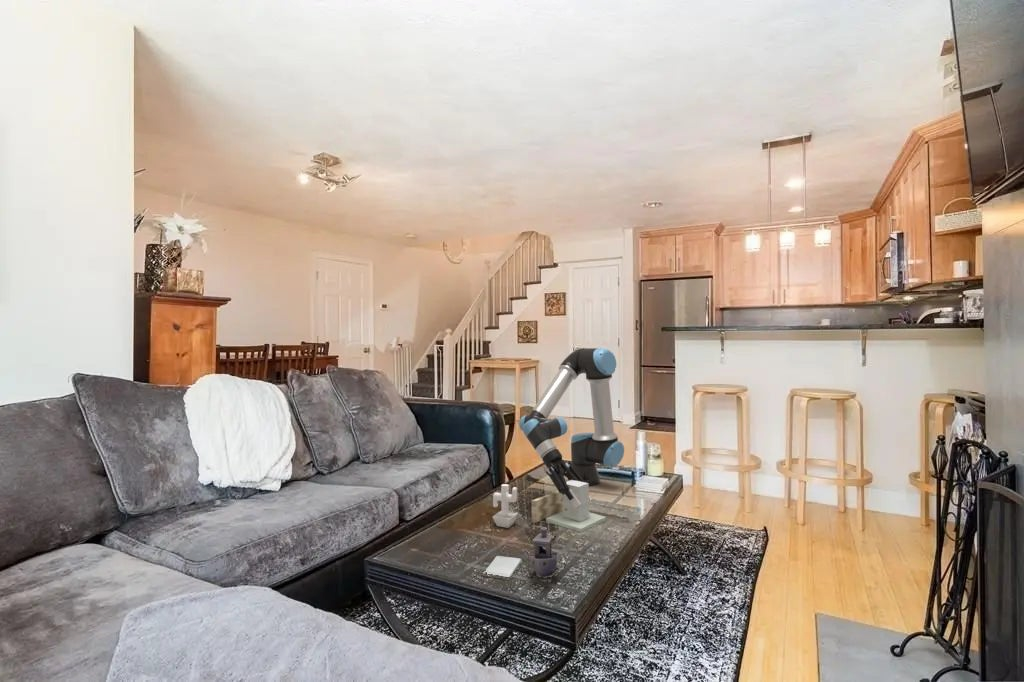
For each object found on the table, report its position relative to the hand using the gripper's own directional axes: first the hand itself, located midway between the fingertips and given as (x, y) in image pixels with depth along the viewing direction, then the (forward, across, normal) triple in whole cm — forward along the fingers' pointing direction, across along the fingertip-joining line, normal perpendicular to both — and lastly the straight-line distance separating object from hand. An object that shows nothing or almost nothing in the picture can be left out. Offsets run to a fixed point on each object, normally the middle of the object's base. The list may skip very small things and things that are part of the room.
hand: (583, 503), depth 189 cm
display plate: (+3, 0, -8) cm, 8 cm away
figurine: (-9, +21, -20) cm, 30 cm away
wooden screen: (-5, 0, -15) cm, 16 cm away
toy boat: (+16, +42, +6) cm, 45 cm away
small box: (+2, 0, -7) cm, 7 cm away
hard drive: (+8, +47, -3) cm, 48 cm away
